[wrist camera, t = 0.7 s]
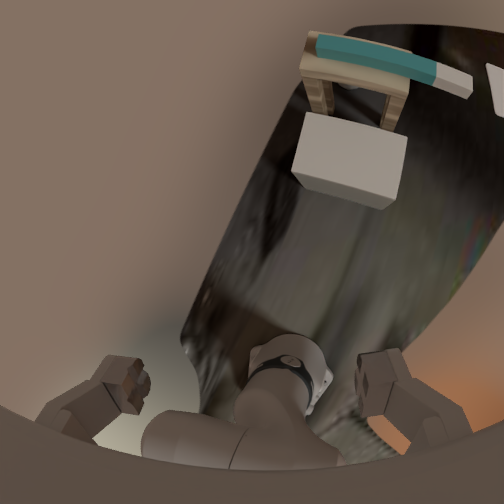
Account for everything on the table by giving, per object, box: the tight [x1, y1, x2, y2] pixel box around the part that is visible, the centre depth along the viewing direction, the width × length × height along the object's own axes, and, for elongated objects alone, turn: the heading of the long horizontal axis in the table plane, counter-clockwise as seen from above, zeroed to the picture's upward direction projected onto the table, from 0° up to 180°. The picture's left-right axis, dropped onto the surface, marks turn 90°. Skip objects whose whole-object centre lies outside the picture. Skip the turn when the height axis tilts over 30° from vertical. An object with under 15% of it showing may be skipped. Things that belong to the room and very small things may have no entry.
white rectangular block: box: [291, 112, 407, 210], centre depth 48 cm, size 10×16×16 cm, turn 74°
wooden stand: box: [299, 31, 412, 133], centre depth 42 cm, size 7×14×26 cm, turn 74°
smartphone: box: [485, 63, 504, 117], centre depth 42 cm, size 7×1×15 cm
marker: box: [315, 34, 473, 99], centre depth 27 cm, size 2×20×2 cm, turn 74°
